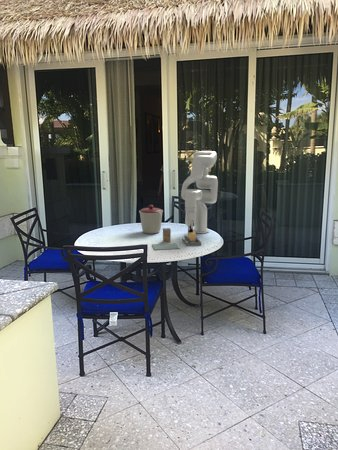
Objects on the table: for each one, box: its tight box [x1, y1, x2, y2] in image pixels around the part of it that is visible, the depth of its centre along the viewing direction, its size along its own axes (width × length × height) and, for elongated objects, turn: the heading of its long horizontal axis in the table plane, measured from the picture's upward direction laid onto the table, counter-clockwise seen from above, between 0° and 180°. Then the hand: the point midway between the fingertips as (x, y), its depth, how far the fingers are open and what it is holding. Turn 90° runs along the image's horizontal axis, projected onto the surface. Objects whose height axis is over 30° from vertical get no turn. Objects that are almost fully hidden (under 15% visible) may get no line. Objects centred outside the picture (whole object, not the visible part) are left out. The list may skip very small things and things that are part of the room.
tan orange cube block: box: [187, 231, 197, 241], centre depth 241 cm, size 4×4×5 cm
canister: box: [138, 204, 164, 235], centre depth 271 cm, size 18×18×21 cm
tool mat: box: [151, 242, 180, 251], centre depth 233 cm, size 12×16×1 cm
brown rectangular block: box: [162, 227, 172, 243], centre depth 245 cm, size 5×5×9 cm
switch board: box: [181, 235, 202, 247], centre depth 243 cm, size 14×10×4 cm
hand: (190, 235), depth 245 cm, fingers closed
